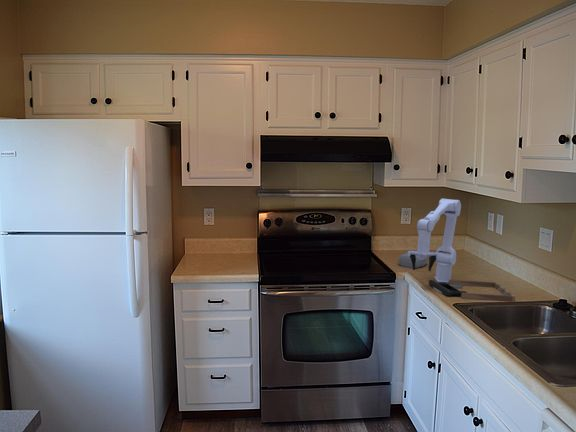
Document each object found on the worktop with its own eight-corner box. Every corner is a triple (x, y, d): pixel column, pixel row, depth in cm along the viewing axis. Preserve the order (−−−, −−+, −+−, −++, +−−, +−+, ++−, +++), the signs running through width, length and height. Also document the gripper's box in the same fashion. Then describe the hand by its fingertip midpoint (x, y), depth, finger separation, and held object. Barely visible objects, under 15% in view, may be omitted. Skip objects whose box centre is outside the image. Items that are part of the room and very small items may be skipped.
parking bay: (448, 284, 232) (448, 279, 231) (496, 286, 229) (496, 282, 229) (461, 298, 208) (461, 293, 208) (514, 301, 206) (515, 296, 206)
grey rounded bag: (417, 270, 259) (432, 264, 274) (418, 256, 258) (433, 251, 273) (394, 265, 269) (409, 260, 284) (395, 251, 268) (410, 247, 283)
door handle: (455, 280, 231) (426, 279, 229) (476, 292, 212) (445, 291, 209) (454, 286, 232) (425, 285, 229) (475, 299, 212) (444, 297, 209)
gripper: (410, 244, 215) (408, 271, 217) (440, 245, 214) (438, 273, 215) (407, 241, 222) (405, 267, 224) (437, 243, 221) (435, 269, 222)
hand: (421, 270), depth 220 cm, fingers open, 7 cm apart
